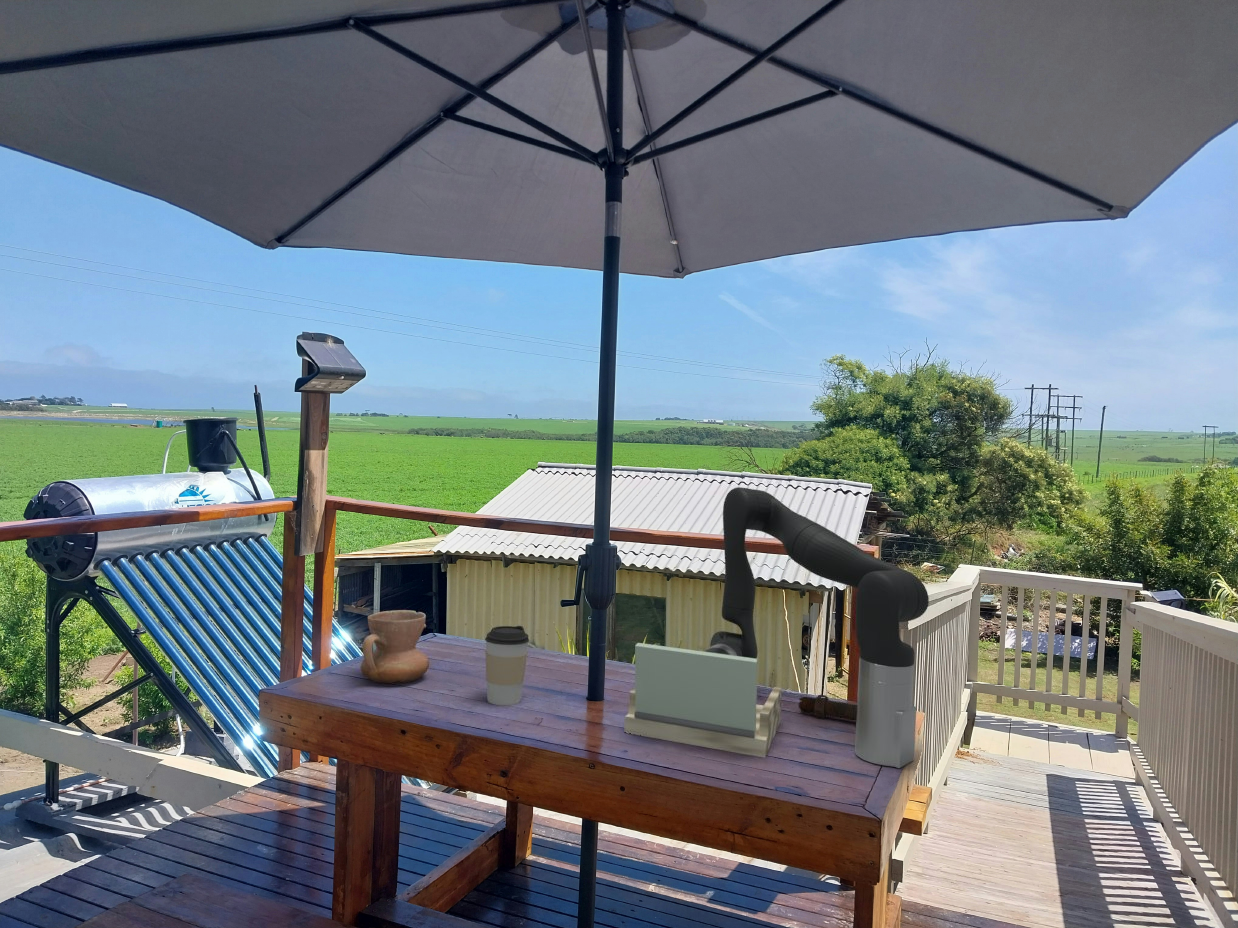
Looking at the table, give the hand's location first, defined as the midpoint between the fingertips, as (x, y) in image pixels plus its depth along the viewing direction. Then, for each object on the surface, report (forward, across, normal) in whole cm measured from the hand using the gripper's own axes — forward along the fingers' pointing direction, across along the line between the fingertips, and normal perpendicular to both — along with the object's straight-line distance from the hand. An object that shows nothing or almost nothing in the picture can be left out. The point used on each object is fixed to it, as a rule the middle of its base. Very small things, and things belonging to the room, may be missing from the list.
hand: (695, 687), depth 134 cm
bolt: (-28, +23, +11) cm, 38 cm away
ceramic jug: (-6, -70, +10) cm, 71 cm away
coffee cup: (-5, -42, +10) cm, 43 cm away
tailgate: (0, 0, +7) cm, 7 cm away
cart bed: (-10, 0, +10) cm, 14 cm away
